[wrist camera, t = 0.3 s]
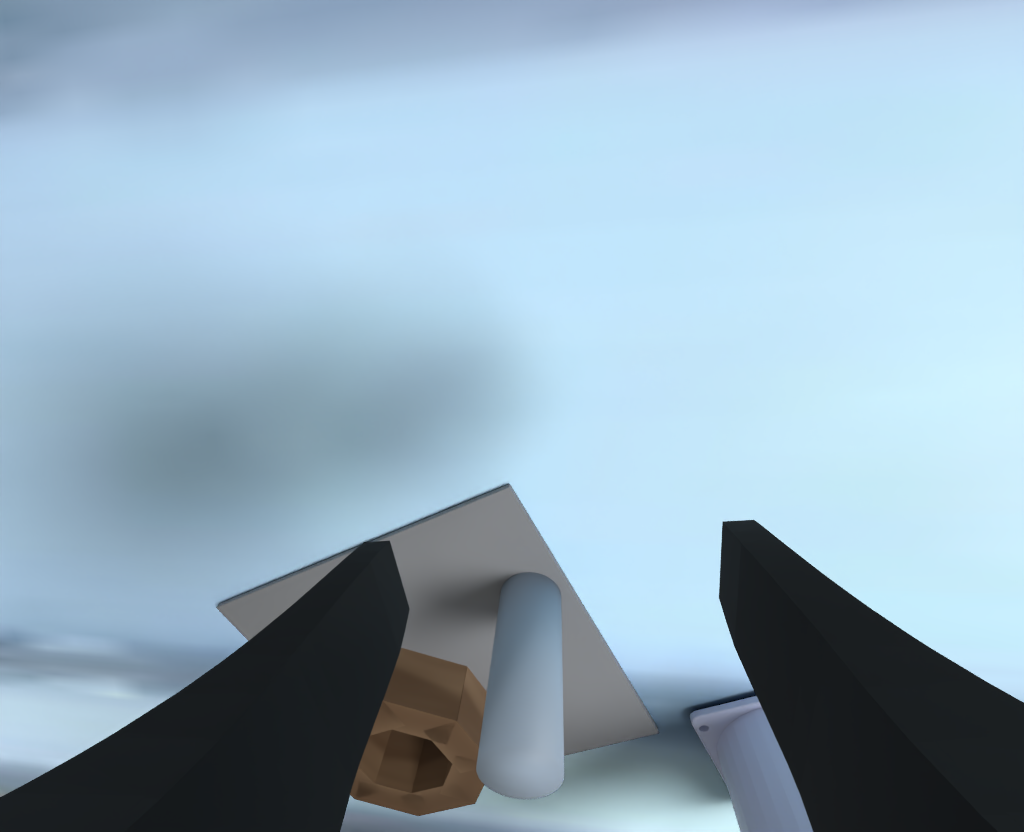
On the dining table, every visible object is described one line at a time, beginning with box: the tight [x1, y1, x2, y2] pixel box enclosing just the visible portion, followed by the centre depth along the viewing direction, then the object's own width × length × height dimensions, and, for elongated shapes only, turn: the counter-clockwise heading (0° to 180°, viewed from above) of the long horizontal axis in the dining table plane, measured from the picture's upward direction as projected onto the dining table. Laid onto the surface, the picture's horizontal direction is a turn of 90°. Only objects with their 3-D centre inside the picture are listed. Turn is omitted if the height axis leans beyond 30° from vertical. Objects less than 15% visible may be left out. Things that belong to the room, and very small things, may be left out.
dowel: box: [476, 572, 564, 799], centre depth 20 cm, size 3×3×8 cm
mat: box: [216, 484, 659, 756], centre depth 26 cm, size 18×18×1 cm
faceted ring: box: [350, 648, 487, 816], centre depth 26 cm, size 9×9×3 cm
